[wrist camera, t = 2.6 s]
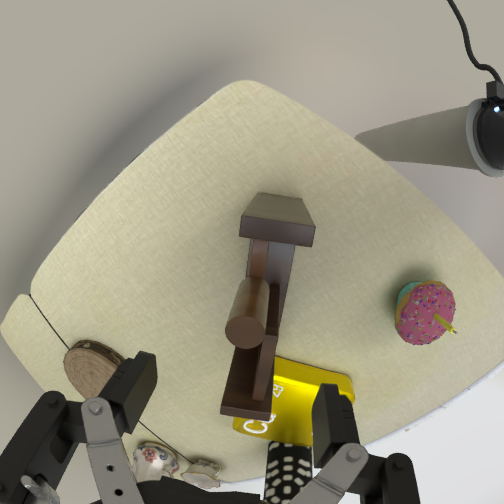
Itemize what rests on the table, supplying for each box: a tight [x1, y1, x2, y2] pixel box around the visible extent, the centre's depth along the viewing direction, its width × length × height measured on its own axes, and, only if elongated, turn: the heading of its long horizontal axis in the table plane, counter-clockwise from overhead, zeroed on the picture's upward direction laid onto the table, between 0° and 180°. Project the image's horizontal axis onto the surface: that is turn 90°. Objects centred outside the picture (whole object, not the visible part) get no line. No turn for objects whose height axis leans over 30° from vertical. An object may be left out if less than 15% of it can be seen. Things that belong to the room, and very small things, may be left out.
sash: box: [225, 239, 270, 349], centre depth 24 cm, size 8×2×16 cm, turn 173°
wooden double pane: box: [220, 192, 316, 422], centre depth 29 cm, size 20×5×14 cm, turn 173°
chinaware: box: [132, 442, 221, 489], centre depth 45 cm, size 28×17×17 cm, turn 126°
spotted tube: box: [263, 441, 313, 504], centre depth 36 cm, size 8×8×20 cm
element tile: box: [233, 357, 355, 447], centre depth 39 cm, size 15×15×5 cm
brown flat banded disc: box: [63, 340, 125, 400], centre depth 43 cm, size 16×16×3 cm
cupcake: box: [395, 280, 457, 345], centre depth 28 cm, size 9×8×12 cm
